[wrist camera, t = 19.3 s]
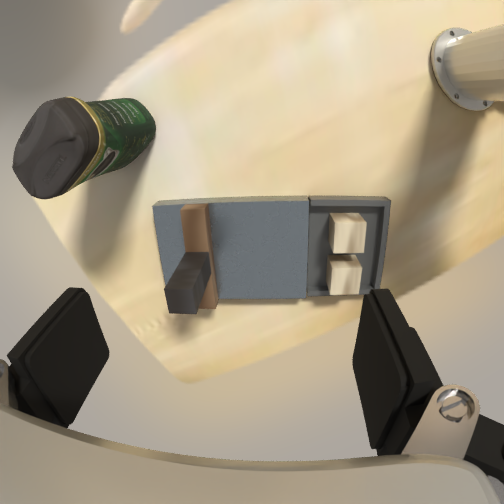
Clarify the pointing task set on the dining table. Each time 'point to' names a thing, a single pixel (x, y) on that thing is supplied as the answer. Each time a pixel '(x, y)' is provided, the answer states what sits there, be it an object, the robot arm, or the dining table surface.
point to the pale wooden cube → (343, 274)
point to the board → (245, 244)
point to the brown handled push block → (194, 265)
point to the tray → (370, 260)
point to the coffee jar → (79, 142)
